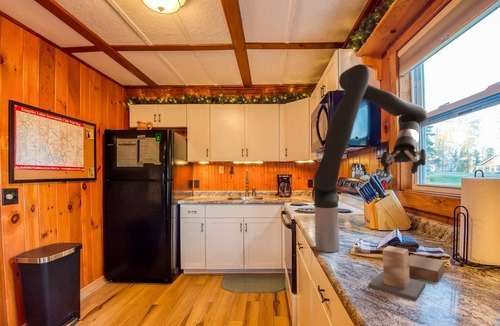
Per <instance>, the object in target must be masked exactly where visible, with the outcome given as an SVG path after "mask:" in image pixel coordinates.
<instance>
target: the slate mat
mask: <svg viewBox="0 0 500 326" xmlns="http://www.w3.org/2000/svg"><path fill="white" fill-rule="evenodd" d="M426 285H427V284H426V282H424V281H421V280H417V279H412V278H410V283H409V284H408V286H407V287H406V288H405V289H403V288H399V287H396V286H392V285H388V284H385V283H384V273H383V271H381V272H380V273H379V274H378V275H377V276H375V278H373V279H372V280H371V281H370V282H369V283H368V288H372V289H375V290H379V291H382V292H386V293H389V294H393V295H394V296H395V295H396V296H399V297H403V298H407V299H410V300H413V301H417V300H418V298H419V297H420V295H421V293H422V292H423V290H424V289H425V287H426Z"/></svg>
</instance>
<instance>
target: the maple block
mask: <svg viewBox="0 0 500 326" xmlns="http://www.w3.org/2000/svg"><path fill="white" fill-rule="evenodd" d="M409 256H410V255H409V248H403V247H397V246H391V245H387V246H386V247H385V248H383V249H382V266H383V268H382V270H383V271H382V272H383V273H384V283H385V284H388V285H392V286H396V287H399V288H403V289H405V288H406V287H407V286H408V284H409V283H410V279H411V278H410V277H411V276H410V275H409Z"/></svg>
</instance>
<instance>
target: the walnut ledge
mask: <svg viewBox="0 0 500 326" xmlns="http://www.w3.org/2000/svg"><path fill="white" fill-rule="evenodd" d="M444 272H445V261H444V260H441V259H440V260H439V259H435V258H430V257H425V256H424V257H423V256H419V255H414V254H410V255H409V277H416V278H418V279H423V280H427V281H432V282H436V283H439V282H440V280H441V278H442V276H443V274H444Z"/></svg>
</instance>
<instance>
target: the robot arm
mask: <svg viewBox="0 0 500 326" xmlns="http://www.w3.org/2000/svg"><path fill="white" fill-rule="evenodd" d="M370 79H371V72H370V68H368V66H367V65H366V64H361V63H359V64H355V65H353V66H351V67H349V68H348V69H345V70H344V71H342V73H341V74H340V76H339V78H338V83H339V86H340V88H341V89H342V90H344V94H343V98H342V100H341V102H339V105H338V107H337V108H336V110H335V111H334V113H333V115H332V117H331V118H330V122H329V125H328V128H327V131H326V136H325V141H324V147H323V148H324V149H323V154H322V158H321V160H320V162H319V165H318V168H317V169H316V172H315V173H314V175H313V196H314V197H313V201H314V228H315V230H314V231H315V232H314V233H315V234H314V235H315V236H314V237H315V238H314V239H315V251H319V252H324V253H336V252H339V251H340V230H339V229H340V228H339V227H340V225H339V221H340V220H339V200H338V191H337V190H338V189H337V188H338V187H337V186H338V180H339V176H340V175H339V174H340V170H341V169H340V168H341V165H342V160H343V156H344V154H345V152H346V149H347V148H348V145H349V142H350V139H351V136H352V133H353V130H354V127H355V122H356V119H357V115H358V112H359V109H360V106H361V102H362V100H366V101H368V102H370V103H372V104H373V105H375V106H376V107H379V108H380V109H382V110H384V111H385V112H387V113H388V114H390V115H391V116H392V117H398V119H397V121H398V126H399V129H398V134H397V136H396V138H395V142H394V147H393V151H391V152H387V151H384V152H383V153H382V155H381V158H380V160H379V162H380V165H381V167H383V169H382V170H383V172H384V173H385V174H386V175H388V174H389V172H390V168H391V166H394V165H396V164H397V163H408V162H409V163H410V164H411V168H410V169H411V170H410V171H411V173H412V175H414V174H416V173H418V170H419V167H420V166H425V165H426V159H427V157H426V156H427V155H426V151H425V149H424V148H421V149H420V150H419V151H417V150H418V145H419V136H420V131H421V127H420V125H419V124H421V123H423V122H424V121H425V120H426V119H427V118H428V111H427V110H426V109H425V107H423V106H421V105H419V104H416V103H412V102H410V101H406V100H403V99H402V98H400V97H399V96H398V95H396V94H395V93H392V92H391V91H388V90H384V89H381V88H379V87H375V86H373V85H370V84H369V83H370V81H371V80H370ZM417 156H418V157H419V159H417V158H416V157H417Z"/></svg>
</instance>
